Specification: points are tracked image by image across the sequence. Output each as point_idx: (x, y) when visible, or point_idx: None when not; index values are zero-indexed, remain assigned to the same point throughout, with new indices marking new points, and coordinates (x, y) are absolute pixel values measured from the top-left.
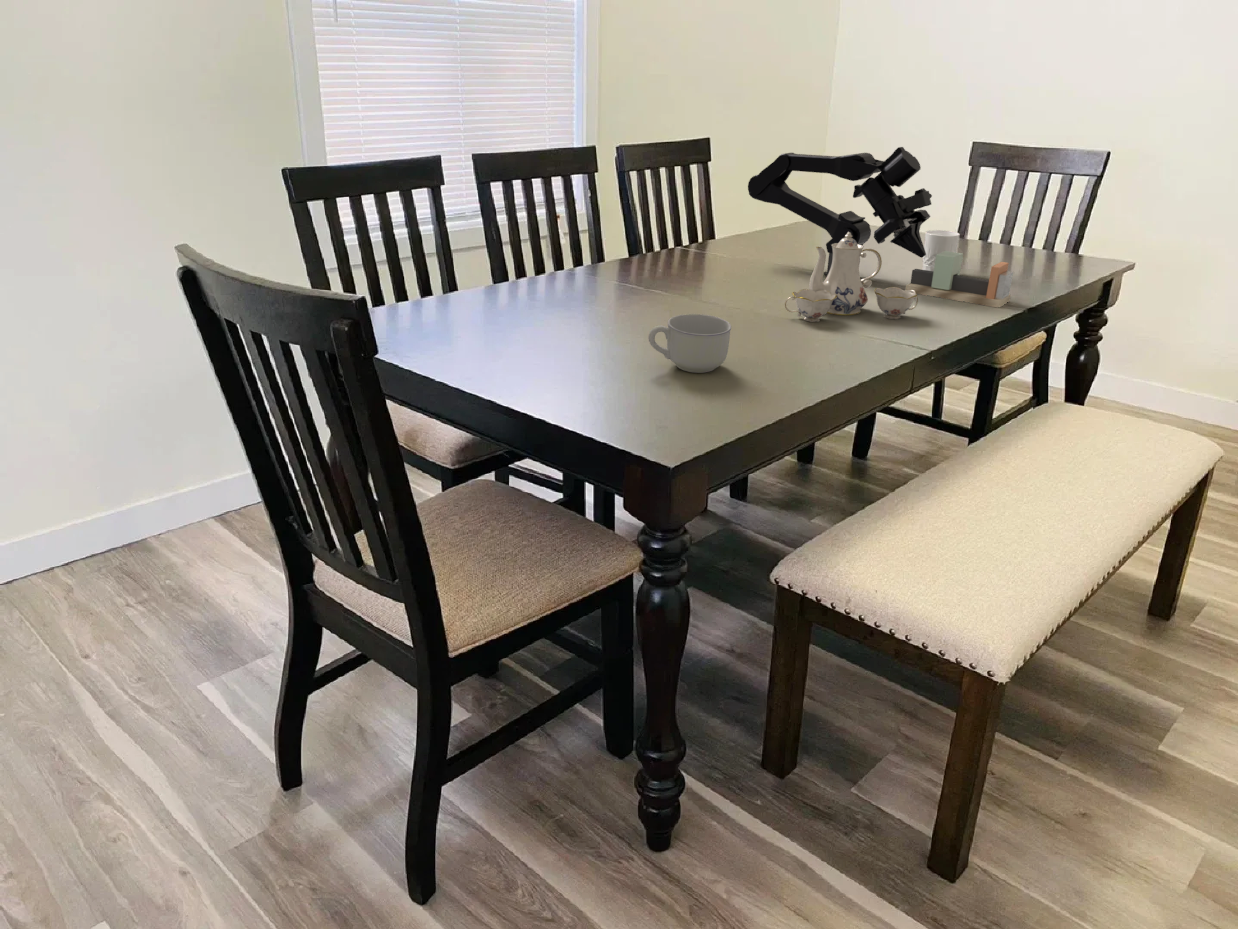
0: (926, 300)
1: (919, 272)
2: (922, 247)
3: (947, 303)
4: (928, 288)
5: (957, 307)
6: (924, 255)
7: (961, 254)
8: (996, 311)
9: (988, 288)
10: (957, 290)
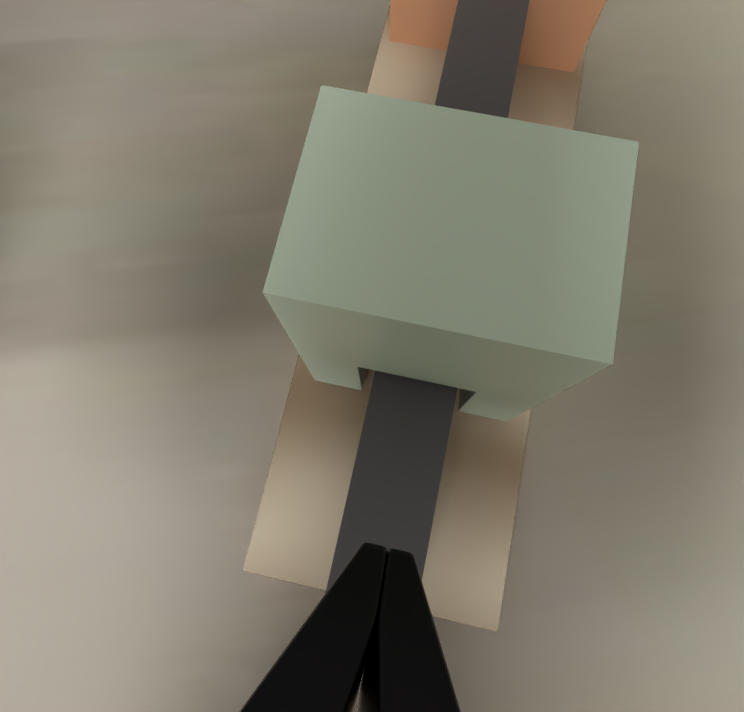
0: (659, 426)
1: (425, 555)
2: (365, 631)
3: (655, 291)
4: (514, 440)
5: (719, 225)
6: (410, 553)
7: (383, 97)
8: (671, 38)
9: (597, 15)
10: None
